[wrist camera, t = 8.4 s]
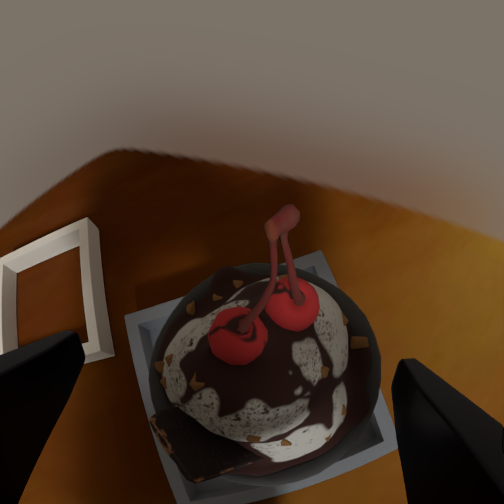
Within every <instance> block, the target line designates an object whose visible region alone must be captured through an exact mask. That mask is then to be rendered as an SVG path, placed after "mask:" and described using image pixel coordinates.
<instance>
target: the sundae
mask: <svg viewBox="0 0 504 504" xmlns="http://www.w3.org/2000/svg"><path fill="white" fill-rule="evenodd" d="M299 220H300V212H299V211H298V210H297V208H296V207H295V206H294V205H293V204H286V205H284V206H283V207H282V208H281V209H280V210H279V211H278V212H277V213H276V214H275V215H273V216H272V217H271V218H270V219H269V220H268V221H267V222H266V223H265V224H264V230H265V232H266V235H267V238H268V239H269V250H270V263H249V264H245V265H240V266H235V267H228V266H226V267H222V268H220V269H218V270H217V271H216V272H215V274H213V275H211V276H210V277H208V278H207V279H206V280H204V281H203V282H201V283H200V284H198V285H197V286H196V287H194V288H193V289H192V290H191V291H190V292H189V293H188V294H187V295H186V296H185V297H183V298H182V300H181V301H180V302H179V304H178V305H177V306H176V308H175V309H174V310H173V312H172V313H171V315H170V316H169V318H168V319H167V321H166V323H165V324H164V326H163V328H162V330H161V332H160V334H159V336H158V338H157V340H156V342H155V346H154V349H153V353H152V356H151V362H150V369H149V377H148V380H149V387H150V394H151V400H152V403H153V407H154V410H155V413H156V414H154V415H153V416H152V417H150V418H149V423H150V425H151V427H152V429H153V431H154V433H155V435H156V437H157V438H158V440H159V442H160V444H161V445H162V447H163V448H164V450H165V451H166V453H167V454H168V455H169V457H170V458H171V459H172V460H173V461H174V462H175V463H176V465H177V467H178V468H179V470H180V472H181V473H182V475H183V476H184V478H185V479H186V480H188V481H190V482H193V483H195V484H197V483H200V482H204V481H207V480H210V479H213V478H217V477H222V478H224V479H226V480H229V481H232V482H236V483H241V484H246V485H254V486H269V487H274V486H279V485H285V484H290V483H294V482H298V481H301V480H304V479H306V478H309V477H312V476H315V475H317V474H319V473H321V472H322V471H324V470H325V469H327V468H328V467H330V466H331V465H332V464H334V463H335V462H337V461H338V460H339V459H340V458H341V457H342V456H344V455H345V454H346V453H347V452H348V451H349V450H350V449H351V448H352V447H353V446H354V444H355V443H356V442H357V440H358V439H359V437H360V436H361V434H362V433H363V432H364V430H365V428H366V426H367V424H368V422H369V420H370V418H371V416H372V414H373V411H374V408H375V406H376V403H377V400H378V396H379V390H380V382H381V355H380V352H379V348H378V345H377V341H376V338H375V335H374V332H373V330H372V328H371V326H370V324H369V322H368V320H367V317H366V316H365V314H364V313H363V312H362V311H361V310H360V309H359V307H358V306H357V305H356V304H355V303H354V302H353V300H352V299H351V298H349V297H348V296H347V295H346V294H345V293H344V292H343V291H342V290H341V289H339V288H338V287H336V286H335V285H333V284H331V283H329V282H328V281H326V280H324V279H322V278H320V277H318V276H316V275H314V274H312V273H309V272H307V271H304V270H301V269H298V268H296V267H295V266H294V261H293V257H292V254H291V250H290V246H289V242H288V233H289V230H291V229H292V228H294V227H295V226H296V225H297V223H298V222H299ZM278 238H280V241H281V245H282V249H283V253H284V258H285V262H286V265H281V264H278V250H277V240H278Z"/></svg>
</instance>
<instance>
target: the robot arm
mask: <svg viewBox="0 0 504 504" xmlns="http://www.w3.org/2000/svg"><path fill="white" fill-rule="evenodd" d="M84 362H85V352H84V349H83V346H82V343H81V340H80V337H79V335H78V333H76V332H73V331H68V330H65V331H62V332H60V333H57V334H54V335H52V336H49V337H46V338H44V339H41V340H38V341H36V342H33V343H30V344H28V345H25V346H23V347H20V348H17V349H15V350H12V351H9V352H7V353H4V354H1V355H0V504H18V503H19V500H20V498H21V495H22V493H23V491H24V489H25V486H26V484H27V482H28V480H29V477H30V475H31V473H32V471H33V469H34V467H35V464H36V462H37V460H38V458H39V456H40V454H41V452H42V450H43V448H44V446H45V444H46V442H47V440H48V438H49V436H50V434H51V432H52V430H53V428H54V426H55V424H56V422H57V420H58V418H59V417H60V415H61V413H62V411H63V409H64V407H65V405H66V403H67V401H68V399H69V397H70V395H71V393H72V390H73V388H74V385H75V383H76V381H77V378H78V376H79V374H80V372H81V369H82V367H83V365H84ZM391 392H392V400H393V410H394V420H395V431H396V439H397V445H398V450H399V455H400V460H401V466H402V471H403V477H404V483H405V489H406V495H407V501H408V504H504V427H503V425H502V424H500V423H499V422H498V421H496V420H495V419H494V418H493V417H491V416H490V415H489V414H487V413H486V412H485V411H483V410H482V409H481V408H480V407H478V406H477V405H476V404H474V403H473V402H472V401H470V400H469V399H468V398H467V397H465V396H464V395H463V394H461V393H460V392H459V391H457V390H456V389H455V388H453V387H452V386H451V385H449V384H448V383H447V382H446V381H444V380H443V379H442V378H440V377H439V376H438V375H436V374H435V373H434V372H432V371H431V370H430V369H428V368H427V367H426V366H424V365H423V364H422V363H420V362H419V361H418V360H416V359H414V358H411V359H401V360H400V361H399V363H398V366H397V369H396V372H395V375H394V378H393V381H392V386H391Z"/></svg>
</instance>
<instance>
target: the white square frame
mask: <svg viewBox="0 0 504 504" xmlns="http://www.w3.org/2000/svg"><path fill="white" fill-rule="evenodd" d="M77 246H80V263H81V278H82V290H83V300H84V309H85V318H86V326H87V333H88V340H89V342H86V343H83V344H82V346H83V349H84V352H85V362H84V364H86V363H89V362H93V361H97V360H101V359H105V358H109V357H112V356H115V352H114V347H113V342H112V336H111V330H110V324H109V318H108V312H107V305H106V298H105V290H104V282H103V273H102V263H101V252H100V239H99V229H98V228H97V227H96V226H95V225H94V224H93V223H92V222H91V220H90V219H89V218H88V217H86V218H84V219H82V220H79V221H77V222H75V223H72V224H70V225H68V226H66V227H64V228H61V229H59V230H57V231H55V232H53V233H51V234H48V235H46V236H44V237H42V238H40V239H38V240H36V241H34V242H32V243H30V244H28V245H26V246H23V247H21V248H19V249H17V250H16V251H14V252H12V253H10V254H8V255H6V256H4V257H2V258H0V355H1V354H4V353H7V352H9V351H12V350H15V349H17V348H18V338H17V318H16V277H17V273H18V272H20V271H22V270H24V269H27V268H29V267H31V266H33V265H36V264H38V263H40V262H42V261H45V260H47V259H49V258H51V257H54V256H56V255H58V254H61V253H63V252H65V251H68V250H70V249H72V248H75V247H77Z"/></svg>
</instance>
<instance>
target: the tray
mask: <svg viewBox="0 0 504 504" xmlns="http://www.w3.org/2000/svg"><path fill="white" fill-rule="evenodd" d="M293 261H294V266H295V267H296V268H298V269H301V270H304V271H307V272H309V273H312V274H314V275H316V276H318V277H320V278H322V279H324V280H326V281H328V282H329V283H331V284H333V285H335V286H336V287H338V285H337V283H336V281H335V279H334V277H333V274H332V272H331V270H330V268H329V266H328V263H327V261H326V259H325V257H324V255H323V253H322V250H319V251H316V252H313V253H311V254H308V255H305V256H302V257H299V258H296V259H293ZM281 265H286V262H285V263H282V264H281ZM184 297H185V296H184ZM182 298H183V297H181V298H178V299H175V300H171V301H168V302H165V303H162V304H159V305H156V306H153V307H150V308H147V309H144V310H140V311H137V312H134V313H131V314H128V315H125V316H124V317H125V323H126V328H127V333H128V338H129V343H130V348H131V353H132V358H133V362H134V367H135V371H136V375H137V379H138V383H139V387H140V391H141V395H142V399H143V403H144V406H145V410H146V414H147V417H148V421H149V418H150V417H152V416H153V415H154V414H156V413H155V410H154V407H153V403H152V400H151V394H150V387H149V380H148V377H149V369H150V362H151V356H152V353H153V349H154V346H155V342H156V340H157V338H158V336H159V334H160V332H161V330H162V328H163V326H164V324H165V323H166V321H167V319H168V318H169V316H170V315H171V313H172V312H173V310H174V309H175V308H176V306H177V305H178V304H179V302H180V301H181V300H182ZM149 424H150V423H149ZM150 427H151V425H150ZM151 431H152V434H153V437H154V440H155V444H156V447H157V450H158V453H159V456H160V459H161V462H162V465H163V467H164V470H165V473H166V476H167V479H168V481H169V484H170V487H171V489H172V492H173V495H174V497H175V500H176V502H177V504H247V503H251V502H256V501H260V500H264V499H267V498H271V497H275V496H278V495H282V494H285V493H289V492H292V491H295V490H298V489H301V488H304V487H307V486H310V485H313V484H316V483H319V482H322V481H325V480H327V479H330V478H333V477H335V476H338V475H340V474H343V473H345V472H348V471H350V470H352V469H355V468H357V467H359V466H362V465H364V464H366V463H368V462H371V461H373V460H375V459H377V458H379V457H381V456H383V455H385V454H387V453H389V452H391V451H393V450H395V449H397V448H398V445H397V439H396V431H395V427H394V425H393V422H392V419H391V416H390V414H389V411H388V408H387V405H386V403H385V400H384V397H383V395H382V392H381V389H380V390H379V396H378V400H377V403H376V406H375V408H374V411H373V414H372V416H371V418H370V420H369V422H368V424H367V426H366V428H365V430H364V432H363V433H362V434H361V436H360V437H359V439H358V440H357V442H356V443H355V444H354V446H353V447H352V448H351V449H350V450H349V451H348V452H347V453H346V454H345V455H344V456H342V457H341V458H340V459H339V460H338V461H337V462H335V463H334V464H332V465H331V466H330V467H328V468H327V469H325V470H324V471H322V472H321V473H319V474H317V475H315V476H312V477H309V478H306V479H304V480H301V481H298V482H294V483H290V484H285V485H279V486H274V487H269V486H254V485H246V484H241V483H236V482H232V481H229V480H226V479H224V478H222V477H217V478H213V479H210V480H207V481H204V482H200V483H197V484H195V483H193V482H190V481H188V480H186V479H185V478H184V476H183V475H182V473H181V472H180V470H179V468H178V467H177V465H176V463H175V462H174V461H173V460H172V459H171V458H170V457H169V455H168V454H167V453H166V451H165V450H164V448H163V447H162V445H161V444H160V442H159V440H158V438H157V437H156V435H155V433H154V431H153V429H152V427H151Z"/></svg>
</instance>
